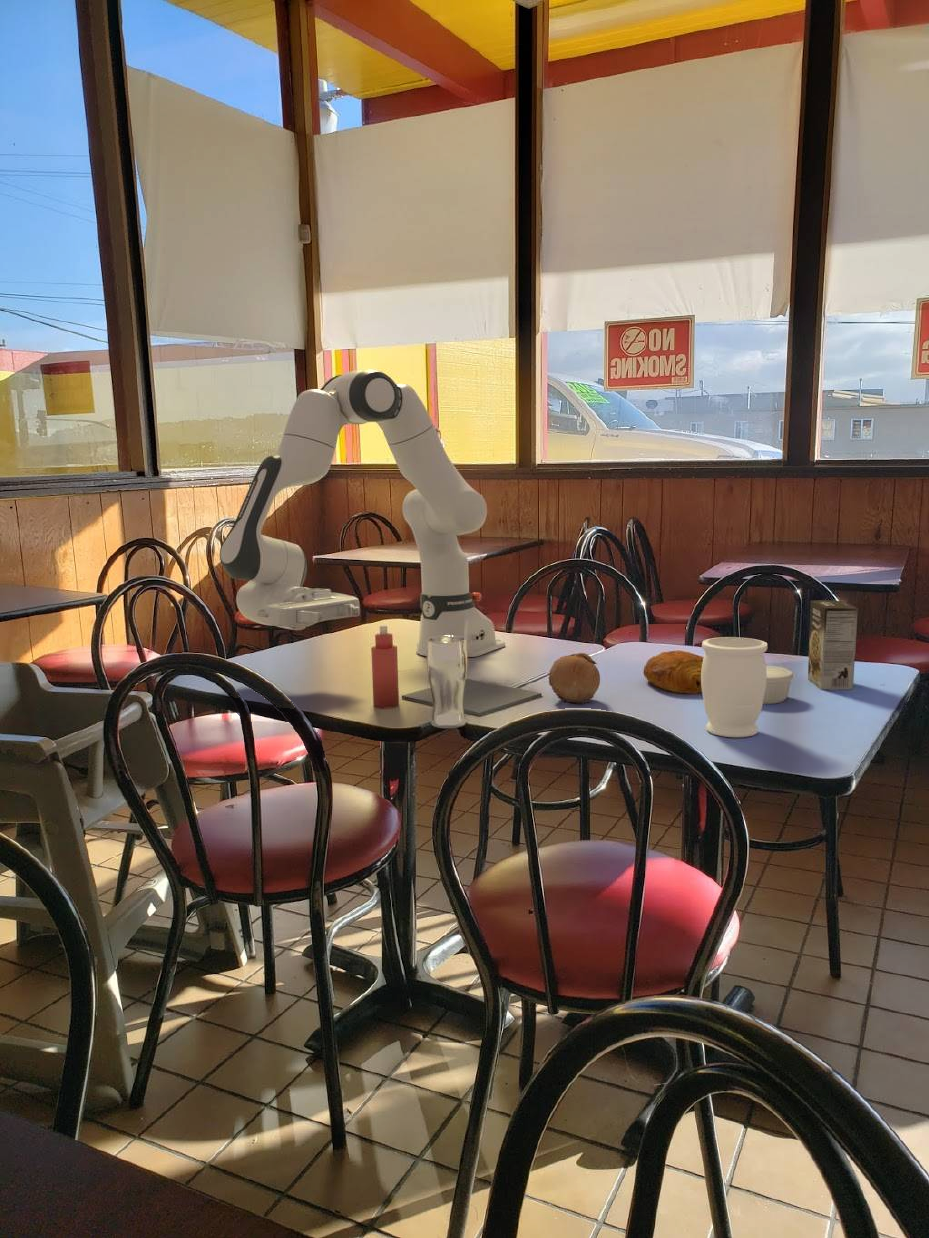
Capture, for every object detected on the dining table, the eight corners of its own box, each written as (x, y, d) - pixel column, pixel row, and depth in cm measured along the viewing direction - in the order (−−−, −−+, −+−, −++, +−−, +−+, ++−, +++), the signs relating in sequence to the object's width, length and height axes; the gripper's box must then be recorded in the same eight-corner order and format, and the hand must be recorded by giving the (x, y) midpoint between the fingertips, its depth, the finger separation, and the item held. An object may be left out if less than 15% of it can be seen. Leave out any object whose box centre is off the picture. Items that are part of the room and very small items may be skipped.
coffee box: (806, 679, 192) (809, 600, 189) (838, 678, 192) (842, 599, 189) (820, 690, 183) (823, 607, 180) (854, 689, 183) (858, 606, 180)
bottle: (386, 700, 182) (384, 623, 180) (404, 704, 179) (401, 625, 176) (368, 705, 179) (365, 626, 176) (385, 709, 176) (382, 629, 173)
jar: (701, 720, 164) (703, 635, 162) (764, 724, 161) (767, 637, 159) (698, 738, 154) (700, 647, 152) (765, 742, 151) (768, 649, 149)
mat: (464, 681, 196) (464, 678, 196) (541, 696, 183) (541, 693, 183) (401, 698, 183) (401, 695, 183) (479, 715, 170) (479, 712, 170)
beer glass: (464, 730, 161) (462, 643, 159) (424, 728, 163) (421, 642, 160) (472, 718, 168) (470, 635, 166) (433, 717, 170) (431, 634, 167)
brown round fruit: (587, 712, 182) (606, 663, 183) (590, 712, 173) (610, 660, 173) (540, 693, 183) (559, 645, 184) (541, 692, 174) (561, 641, 174)
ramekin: (716, 697, 180) (717, 670, 179) (753, 688, 186) (754, 661, 185) (766, 709, 171) (767, 680, 170) (803, 699, 177) (805, 671, 176)
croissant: (665, 708, 181) (667, 669, 179) (633, 679, 195) (634, 642, 193) (734, 700, 184) (737, 661, 182) (698, 672, 199) (700, 636, 196)
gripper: (250, 597, 185) (294, 604, 176) (332, 587, 200) (377, 593, 191) (252, 629, 186) (296, 637, 177) (333, 617, 201) (377, 624, 192)
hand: (338, 614), depth 184 cm, fingers open, 8 cm apart
